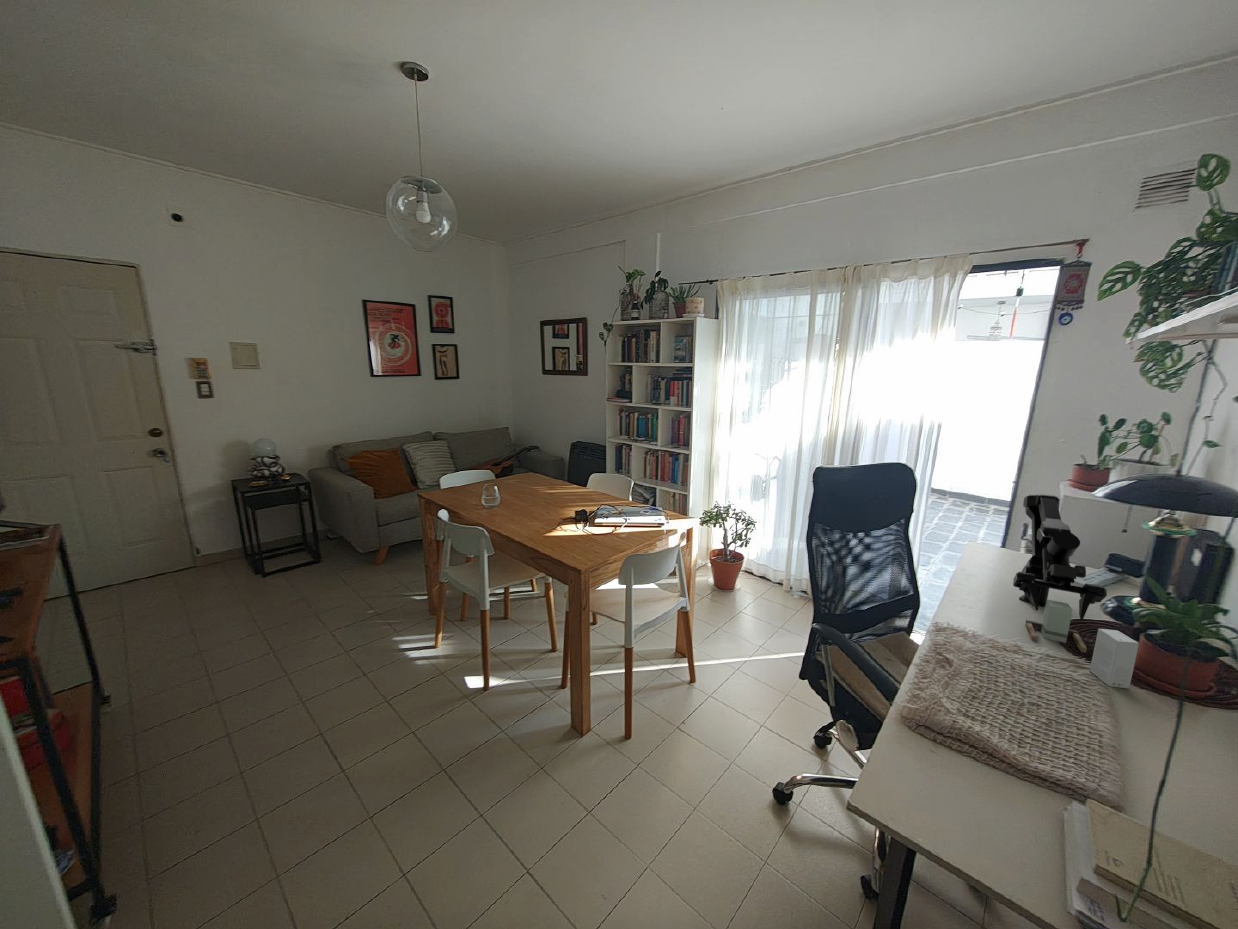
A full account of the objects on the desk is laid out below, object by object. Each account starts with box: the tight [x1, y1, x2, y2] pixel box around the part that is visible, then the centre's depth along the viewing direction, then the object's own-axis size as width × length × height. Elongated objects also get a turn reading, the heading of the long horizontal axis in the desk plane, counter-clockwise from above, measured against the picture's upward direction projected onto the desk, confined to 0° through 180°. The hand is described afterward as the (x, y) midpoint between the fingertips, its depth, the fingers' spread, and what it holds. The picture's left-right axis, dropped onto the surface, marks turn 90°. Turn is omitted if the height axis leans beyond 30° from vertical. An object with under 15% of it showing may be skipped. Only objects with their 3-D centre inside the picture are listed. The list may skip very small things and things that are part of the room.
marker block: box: [1040, 599, 1073, 644], centre depth 127 cm, size 5×5×10 cm
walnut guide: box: [1025, 619, 1088, 654], centre depth 127 cm, size 10×11×2 cm
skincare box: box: [1089, 628, 1140, 689], centre depth 108 cm, size 6×4×12 cm
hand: (1058, 614), depth 126 cm, fingers open, 9 cm apart
